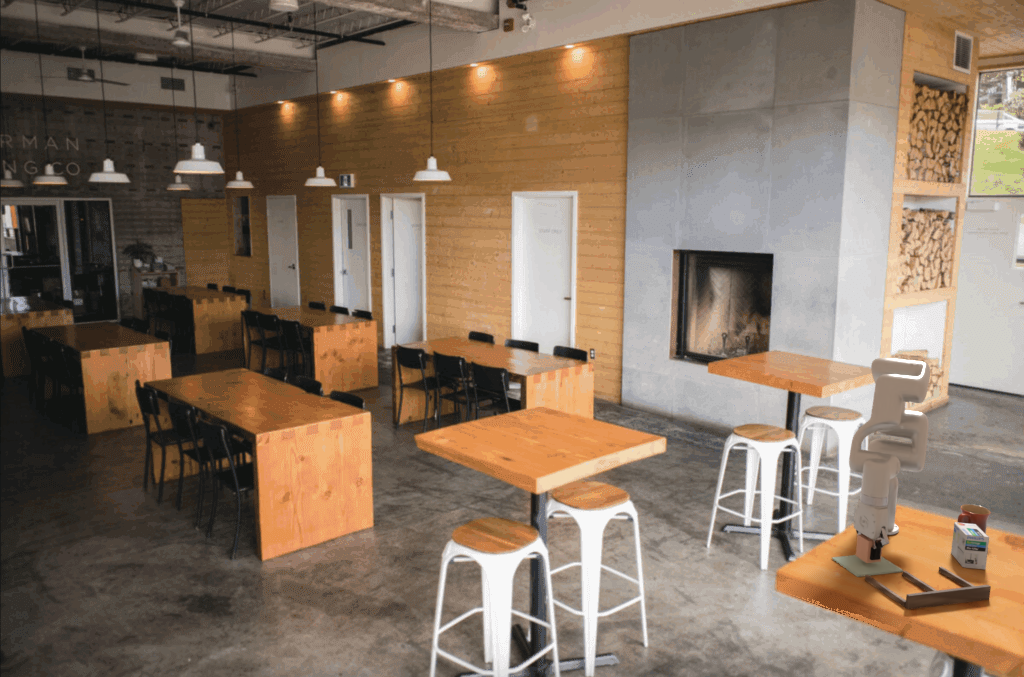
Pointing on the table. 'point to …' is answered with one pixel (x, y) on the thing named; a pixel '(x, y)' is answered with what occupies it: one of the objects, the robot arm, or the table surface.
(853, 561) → the mat
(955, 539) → the light bulb box
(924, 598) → the lane rack
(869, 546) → the block
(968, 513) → the mug
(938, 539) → the table surface
